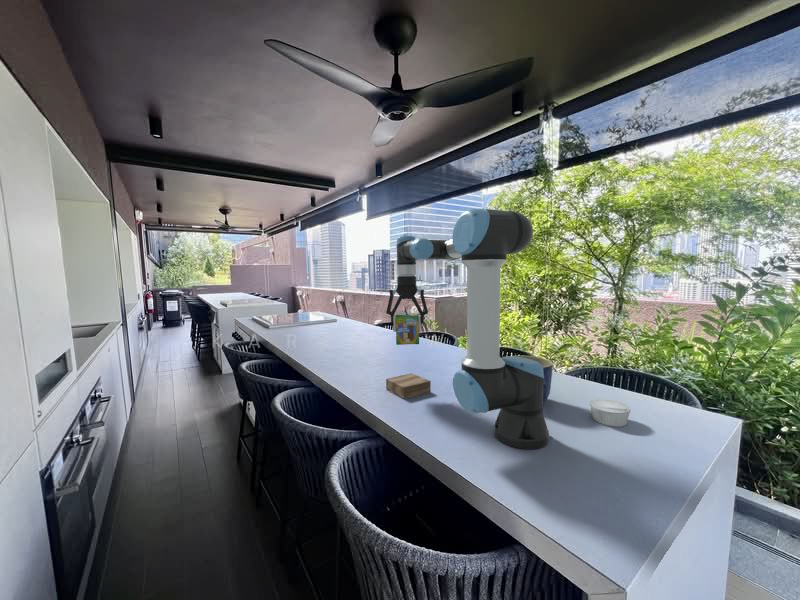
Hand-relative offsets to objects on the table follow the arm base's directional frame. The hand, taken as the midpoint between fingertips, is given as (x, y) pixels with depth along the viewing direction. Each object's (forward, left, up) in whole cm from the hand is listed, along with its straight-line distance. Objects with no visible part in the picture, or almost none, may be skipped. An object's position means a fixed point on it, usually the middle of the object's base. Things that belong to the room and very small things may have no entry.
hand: (407, 331), depth 138 cm
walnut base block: (0, 0, -25) cm, 25 cm away
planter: (-37, -27, -25) cm, 52 cm away
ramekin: (-63, -32, -25) cm, 75 cm away
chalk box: (0, 0, -5) cm, 5 cm away
